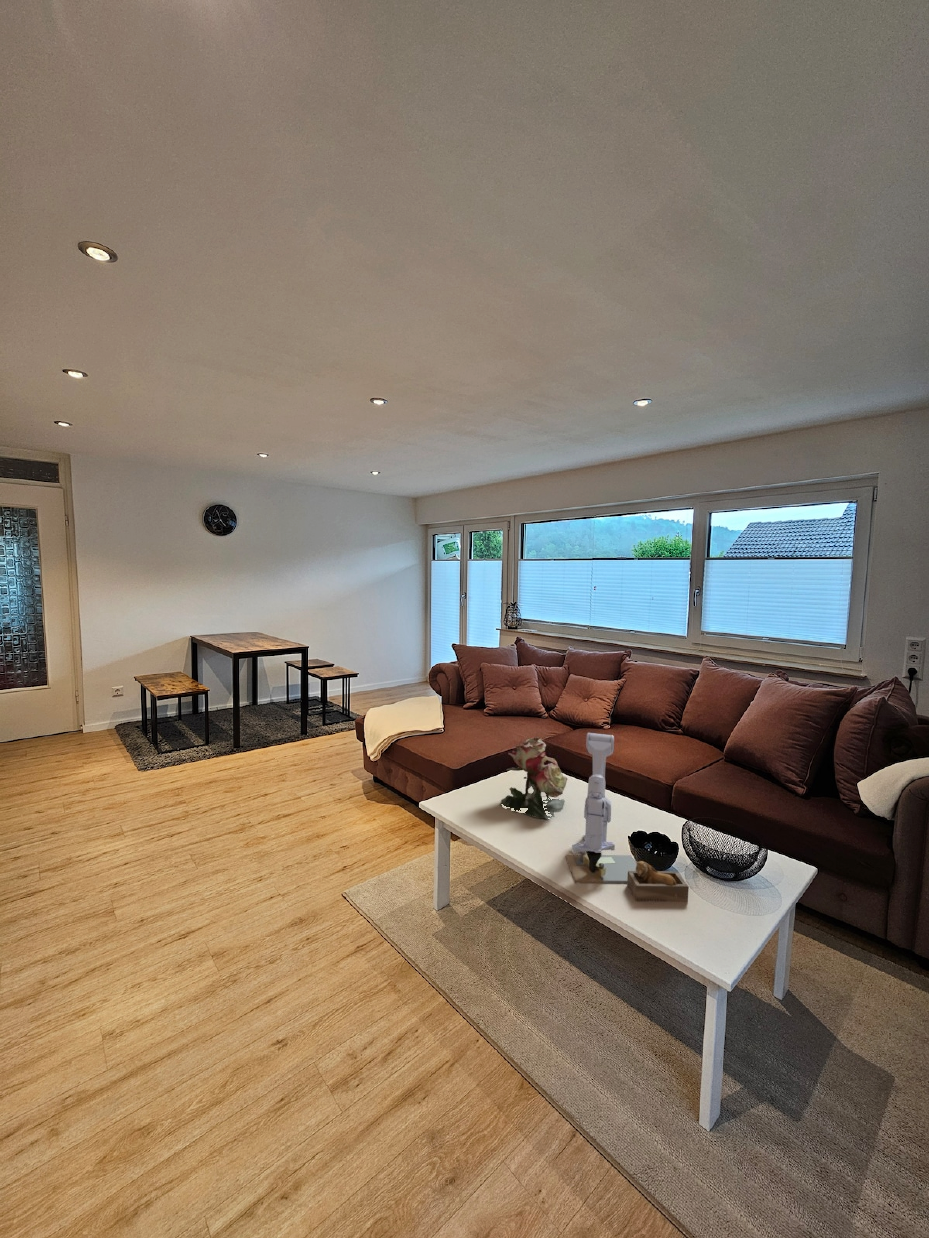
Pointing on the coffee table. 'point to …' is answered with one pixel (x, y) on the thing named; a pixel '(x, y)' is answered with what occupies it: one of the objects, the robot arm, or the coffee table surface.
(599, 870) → the latch bar
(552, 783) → the rose bouquet
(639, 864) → the lion figurine
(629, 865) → the door board
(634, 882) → the display tray
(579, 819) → the coffee table surface
